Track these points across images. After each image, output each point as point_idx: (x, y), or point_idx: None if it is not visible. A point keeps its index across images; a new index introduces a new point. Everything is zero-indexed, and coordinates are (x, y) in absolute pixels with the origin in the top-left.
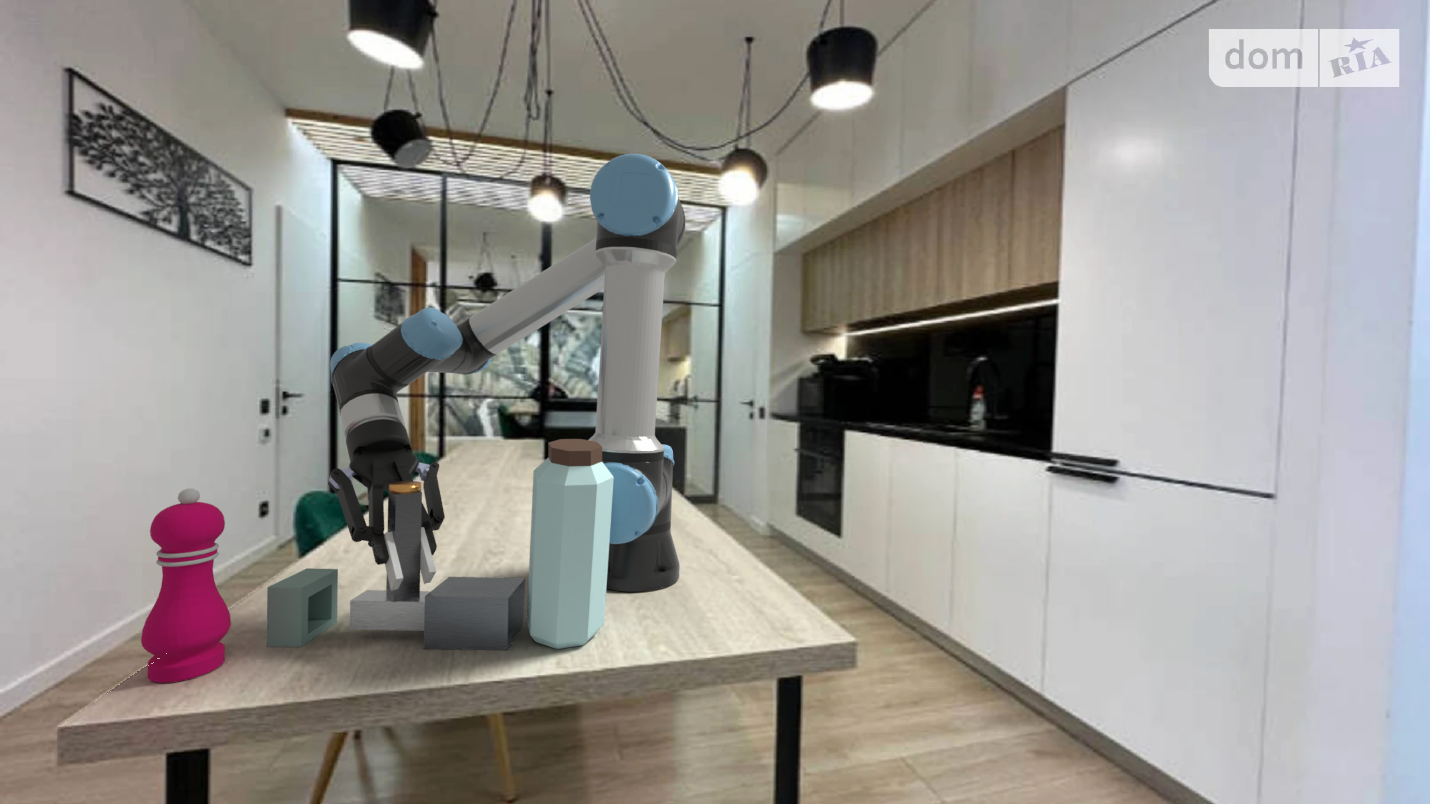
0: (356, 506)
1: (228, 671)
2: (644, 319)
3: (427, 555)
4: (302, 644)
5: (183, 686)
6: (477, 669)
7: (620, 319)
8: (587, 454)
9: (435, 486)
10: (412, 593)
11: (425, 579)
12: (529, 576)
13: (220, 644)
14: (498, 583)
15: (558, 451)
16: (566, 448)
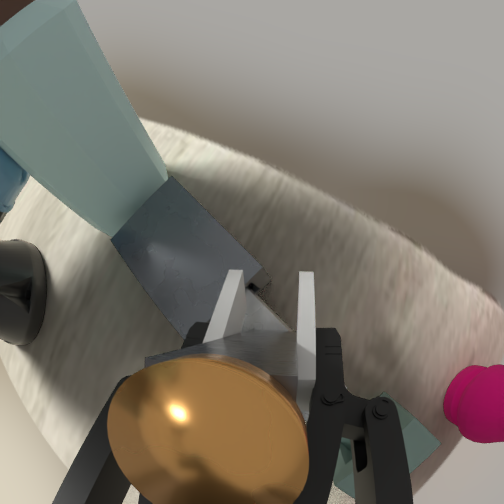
0: (387, 490)
1: (447, 366)
2: None
3: (228, 299)
4: (382, 394)
5: (475, 352)
6: (246, 185)
7: None
8: None
9: (73, 484)
10: (262, 330)
11: (245, 297)
12: (123, 183)
13: (455, 403)
14: (146, 243)
15: None
16: None
